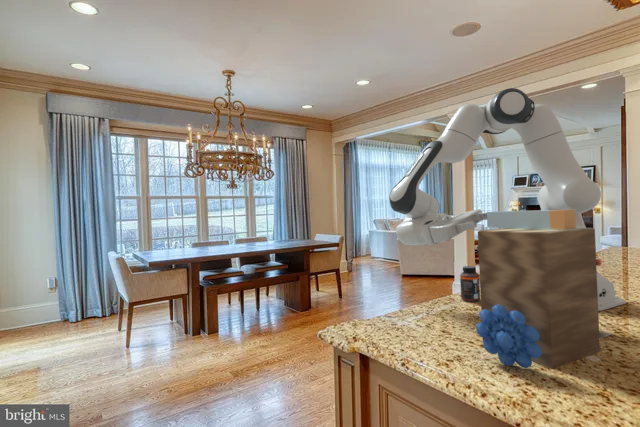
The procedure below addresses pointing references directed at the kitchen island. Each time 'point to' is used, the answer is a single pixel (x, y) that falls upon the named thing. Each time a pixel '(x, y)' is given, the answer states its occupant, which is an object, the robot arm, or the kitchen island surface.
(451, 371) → the kitchen island surface
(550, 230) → the tall wooden block
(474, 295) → the supplement bottle
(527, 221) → the grey and tan bar
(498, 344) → the blue flower
